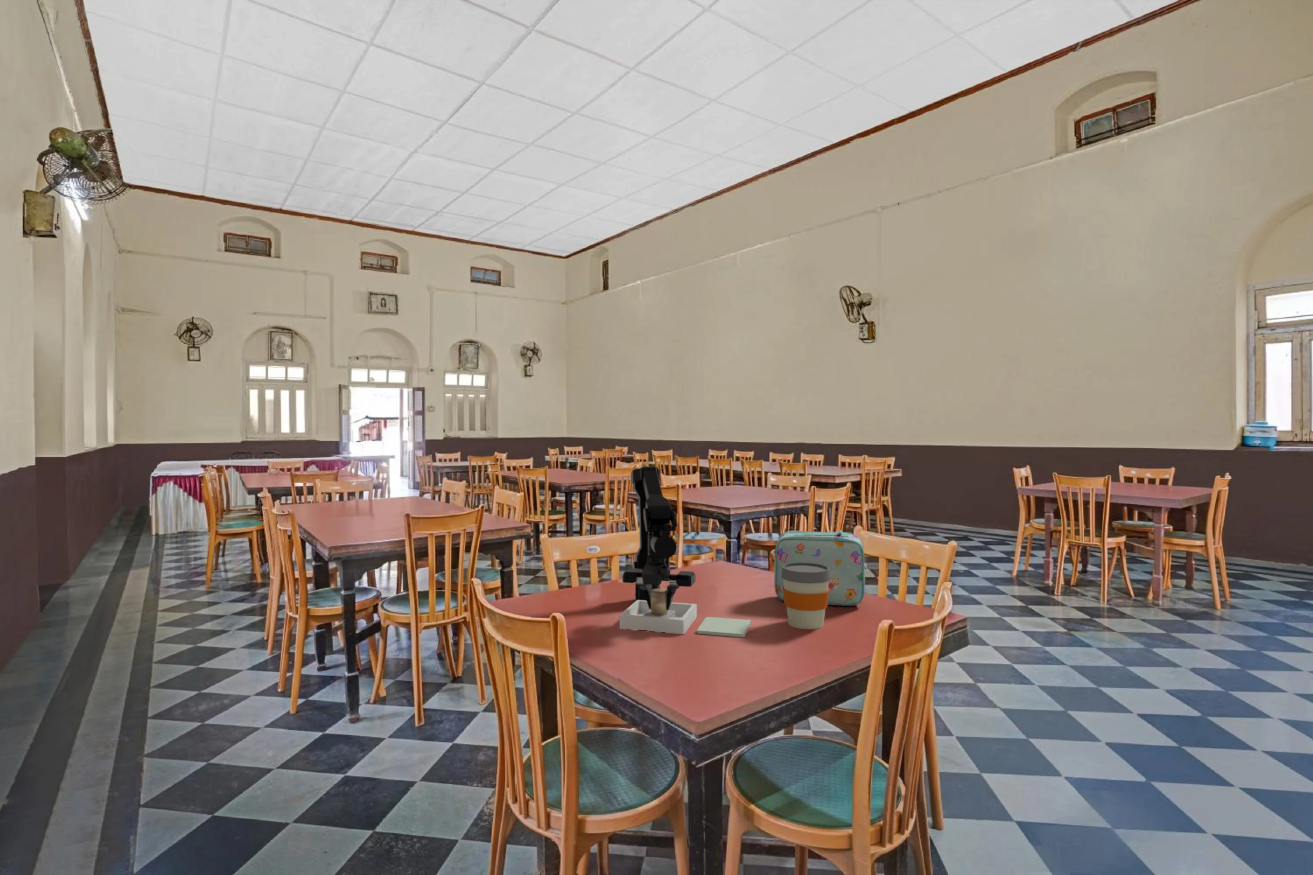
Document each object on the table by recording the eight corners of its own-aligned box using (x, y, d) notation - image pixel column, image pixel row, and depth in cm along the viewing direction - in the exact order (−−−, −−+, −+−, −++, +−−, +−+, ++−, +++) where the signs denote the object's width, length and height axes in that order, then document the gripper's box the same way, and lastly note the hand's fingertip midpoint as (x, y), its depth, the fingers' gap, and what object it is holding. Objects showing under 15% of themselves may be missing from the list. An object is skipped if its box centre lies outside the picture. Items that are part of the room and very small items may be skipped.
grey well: (619, 628, 171) (619, 615, 171) (637, 612, 185) (637, 599, 185) (683, 634, 166) (683, 620, 166) (696, 617, 181) (696, 604, 181)
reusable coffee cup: (831, 632, 167) (831, 573, 166) (781, 629, 169) (781, 571, 169) (829, 618, 179) (829, 562, 179) (781, 615, 182) (781, 561, 181)
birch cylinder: (648, 614, 174) (648, 592, 174) (653, 610, 179) (653, 588, 178) (665, 616, 173) (664, 593, 173) (669, 611, 177) (669, 589, 177)
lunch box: (867, 600, 197) (867, 528, 196) (869, 609, 187) (869, 534, 186) (776, 594, 204) (776, 525, 203) (773, 603, 194) (773, 530, 194)
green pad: (696, 633, 167) (696, 630, 167) (706, 619, 178) (706, 616, 178) (744, 637, 164) (744, 634, 164) (750, 622, 175) (750, 619, 175)
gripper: (615, 555, 170) (615, 615, 171) (686, 558, 165) (686, 620, 165) (628, 547, 181) (629, 603, 181) (695, 550, 176) (696, 608, 176)
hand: (659, 609), depth 176 cm, fingers closed on birch cylinder, 4 cm apart
